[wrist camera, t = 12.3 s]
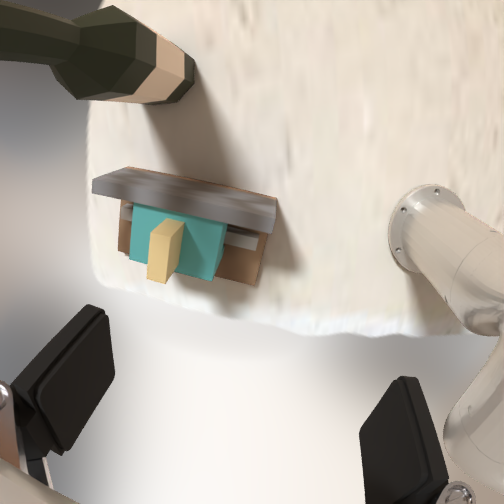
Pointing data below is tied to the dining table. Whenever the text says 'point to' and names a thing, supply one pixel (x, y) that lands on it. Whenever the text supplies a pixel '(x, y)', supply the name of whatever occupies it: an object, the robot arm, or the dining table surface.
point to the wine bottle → (98, 54)
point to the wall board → (197, 213)
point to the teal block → (175, 243)
